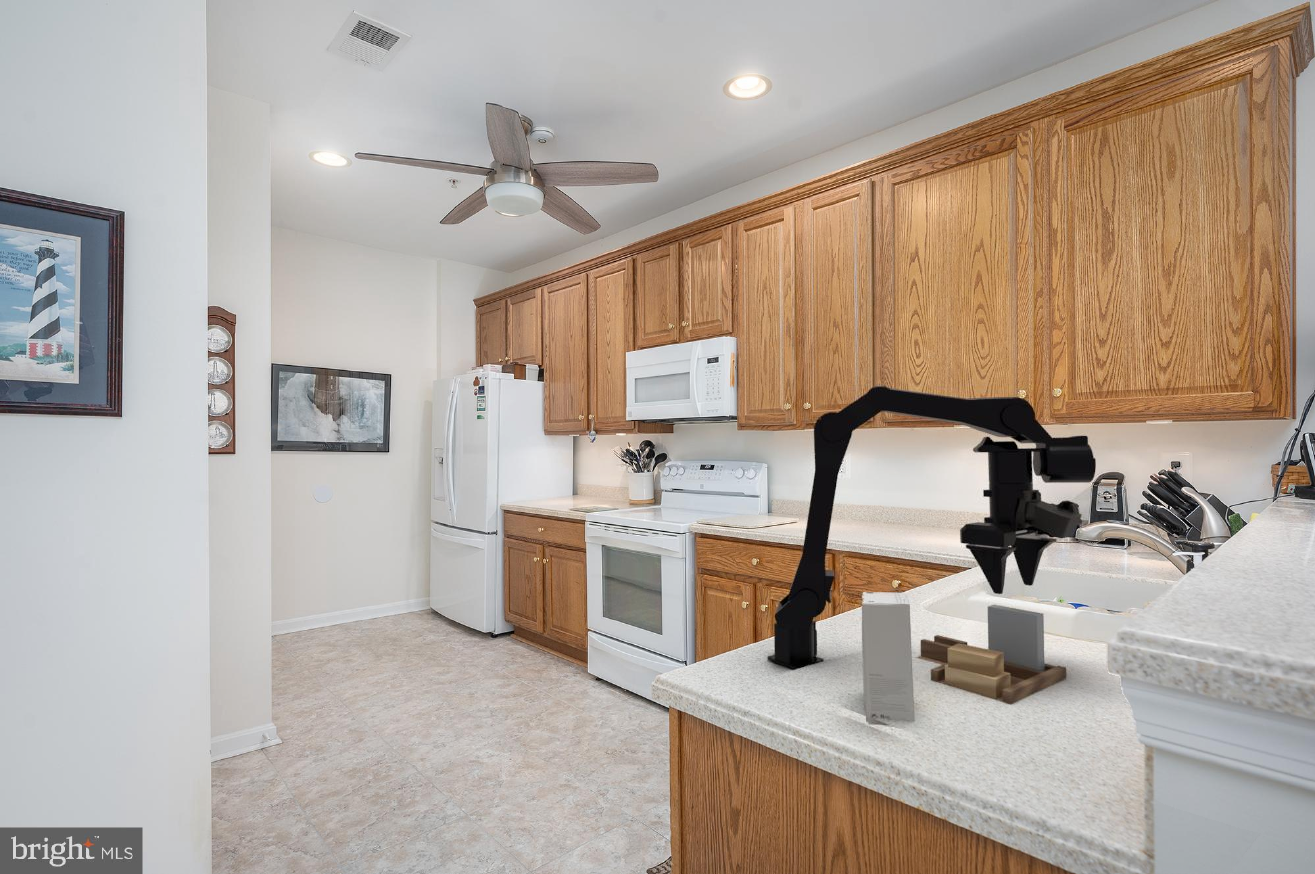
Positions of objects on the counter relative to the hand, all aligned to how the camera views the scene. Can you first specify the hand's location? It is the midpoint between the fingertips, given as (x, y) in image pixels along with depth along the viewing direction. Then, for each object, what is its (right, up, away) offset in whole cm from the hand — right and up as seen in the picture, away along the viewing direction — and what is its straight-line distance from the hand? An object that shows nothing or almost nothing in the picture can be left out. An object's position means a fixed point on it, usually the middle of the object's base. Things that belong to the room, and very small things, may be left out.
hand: (1013, 589), depth 95 cm
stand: (-7, -13, +6) cm, 16 cm away
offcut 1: (-9, -9, -7) cm, 14 cm away
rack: (-4, -13, -3) cm, 14 cm away
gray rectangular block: (0, -12, -1) cm, 12 cm away
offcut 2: (-9, -12, -7) cm, 16 cm away
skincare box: (-23, -13, -13) cm, 29 cm away
